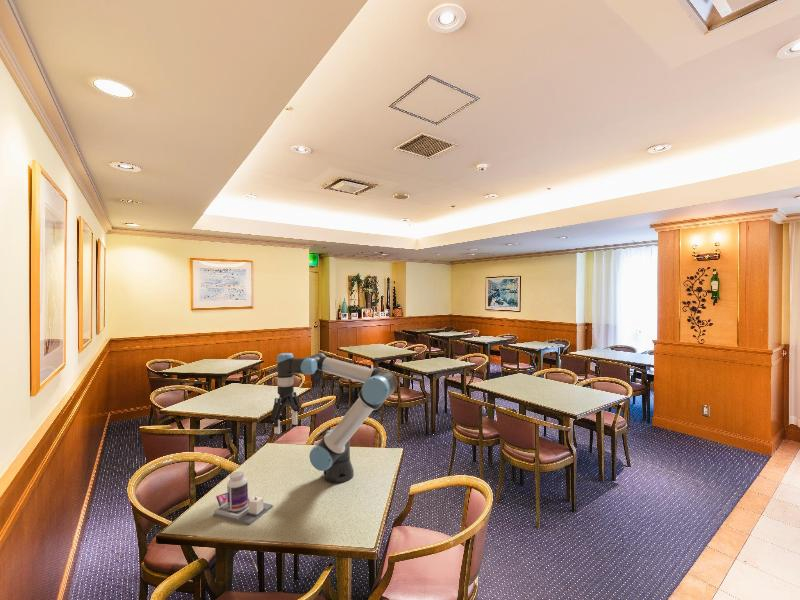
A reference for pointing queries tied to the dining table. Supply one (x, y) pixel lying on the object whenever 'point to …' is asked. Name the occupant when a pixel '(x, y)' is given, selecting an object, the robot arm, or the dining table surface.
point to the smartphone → (222, 499)
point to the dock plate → (244, 511)
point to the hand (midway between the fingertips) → (286, 428)
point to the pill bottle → (237, 492)
